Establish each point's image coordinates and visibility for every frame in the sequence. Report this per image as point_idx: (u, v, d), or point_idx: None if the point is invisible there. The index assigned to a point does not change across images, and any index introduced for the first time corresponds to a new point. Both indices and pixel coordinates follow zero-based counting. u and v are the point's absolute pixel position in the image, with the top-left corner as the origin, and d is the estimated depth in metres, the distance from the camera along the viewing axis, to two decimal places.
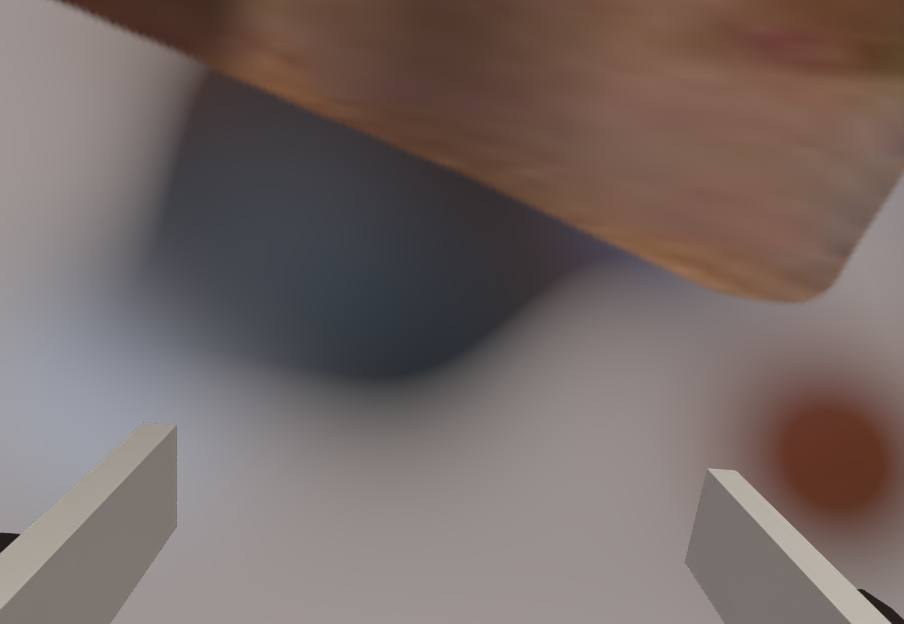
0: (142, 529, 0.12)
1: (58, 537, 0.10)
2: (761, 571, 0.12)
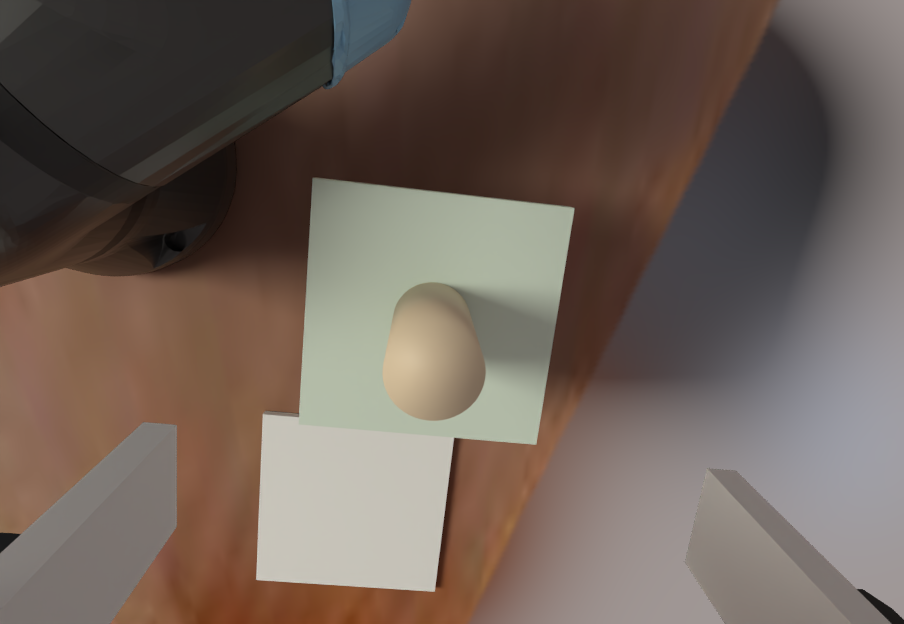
0: (142, 529, 0.12)
1: (58, 537, 0.10)
2: (761, 571, 0.12)
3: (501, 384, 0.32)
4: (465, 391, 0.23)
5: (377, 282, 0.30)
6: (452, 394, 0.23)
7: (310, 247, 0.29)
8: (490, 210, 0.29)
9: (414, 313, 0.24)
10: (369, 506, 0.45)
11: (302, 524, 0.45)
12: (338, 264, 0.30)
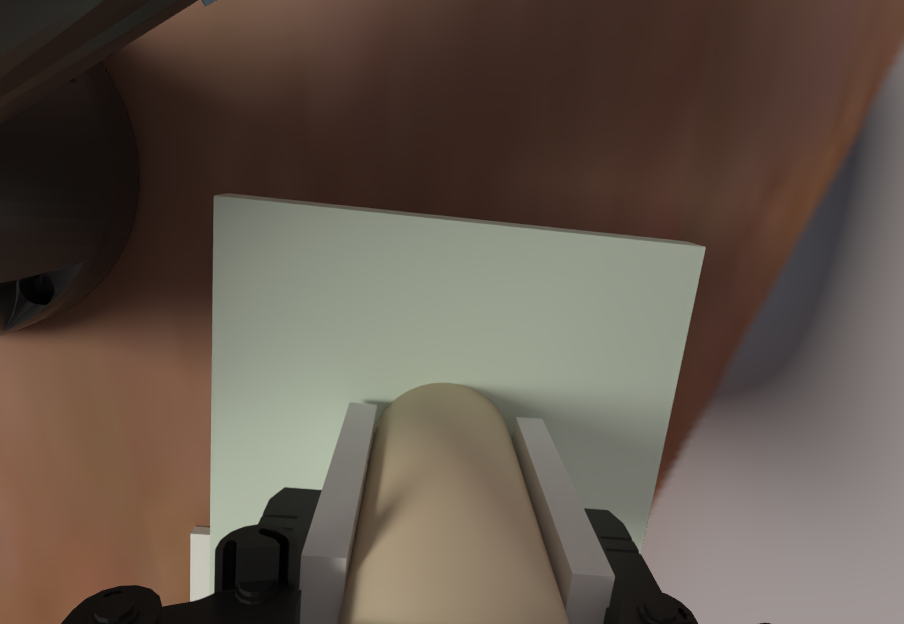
0: None
1: (352, 487, 0.12)
2: None
3: None
4: None
5: (341, 383, 0.16)
6: None
7: (215, 324, 0.16)
8: (550, 252, 0.16)
9: (407, 505, 0.11)
10: None
11: None
12: (269, 353, 0.16)
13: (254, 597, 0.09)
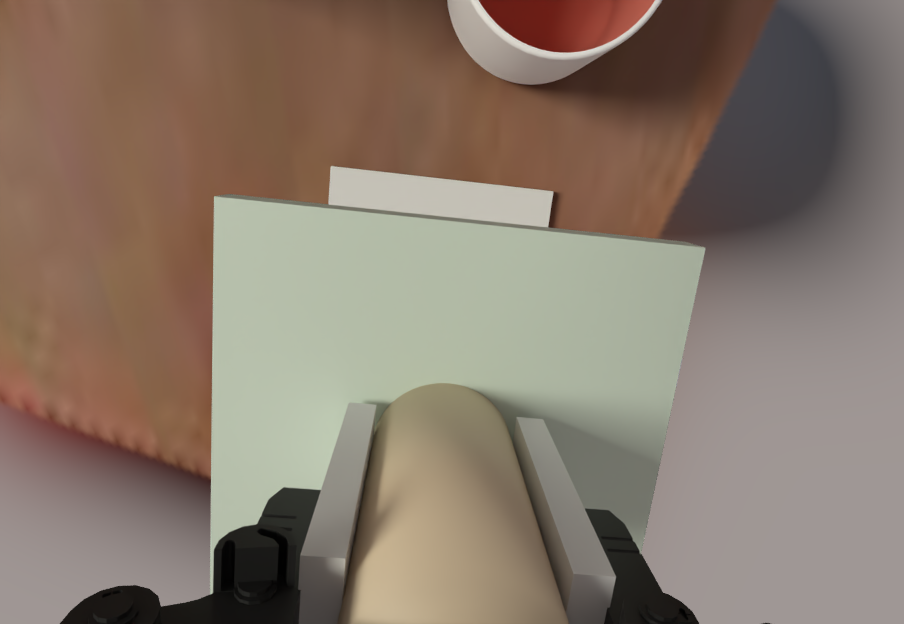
0: None
1: (351, 487, 0.12)
2: None
3: None
4: None
5: (341, 384, 0.16)
6: None
7: (216, 324, 0.16)
8: (550, 253, 0.16)
9: (407, 506, 0.11)
10: None
11: None
12: (269, 354, 0.16)
13: (253, 597, 0.09)
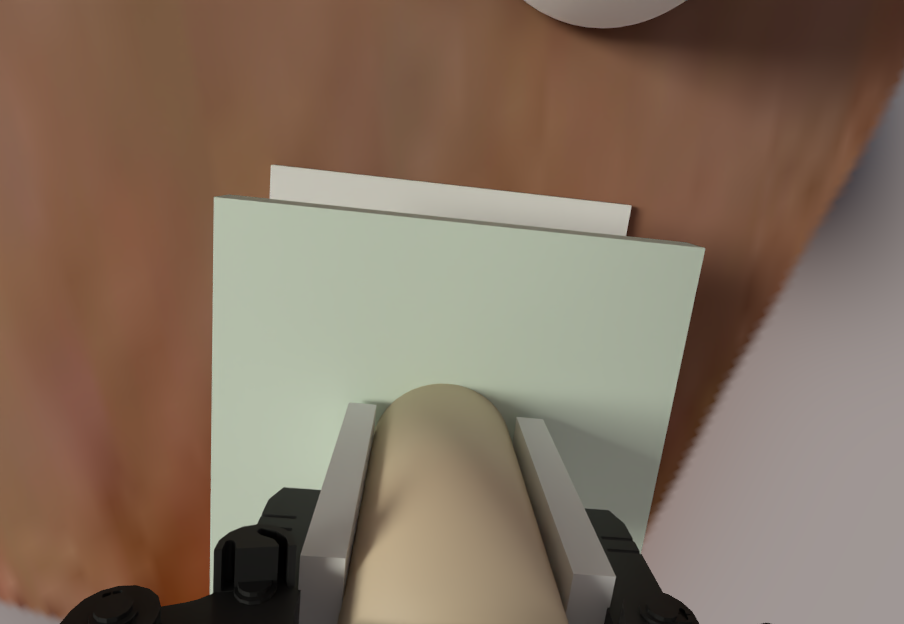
0: None
1: (351, 487, 0.12)
2: (529, 497, 0.14)
3: None
4: None
5: (341, 384, 0.16)
6: None
7: (215, 325, 0.16)
8: (549, 254, 0.16)
9: (407, 506, 0.11)
10: None
11: None
12: (269, 354, 0.16)
13: (253, 597, 0.09)
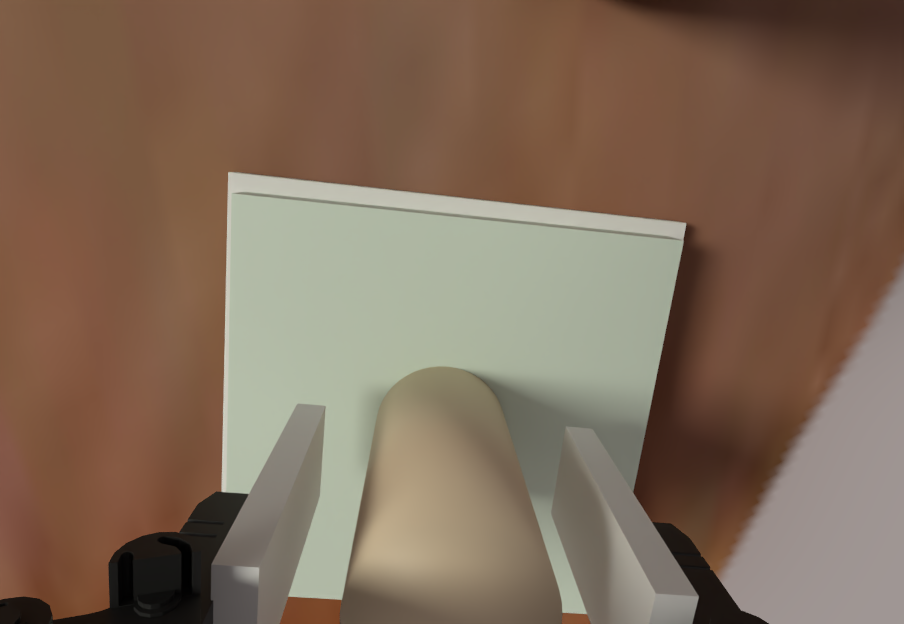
0: (310, 494, 0.14)
1: (281, 492, 0.12)
2: (588, 510, 0.14)
3: (554, 525, 0.19)
4: None
5: (348, 367, 0.18)
6: None
7: (232, 311, 0.17)
8: (540, 246, 0.17)
9: (409, 467, 0.12)
10: None
11: None
12: (281, 339, 0.17)
13: (154, 609, 0.08)
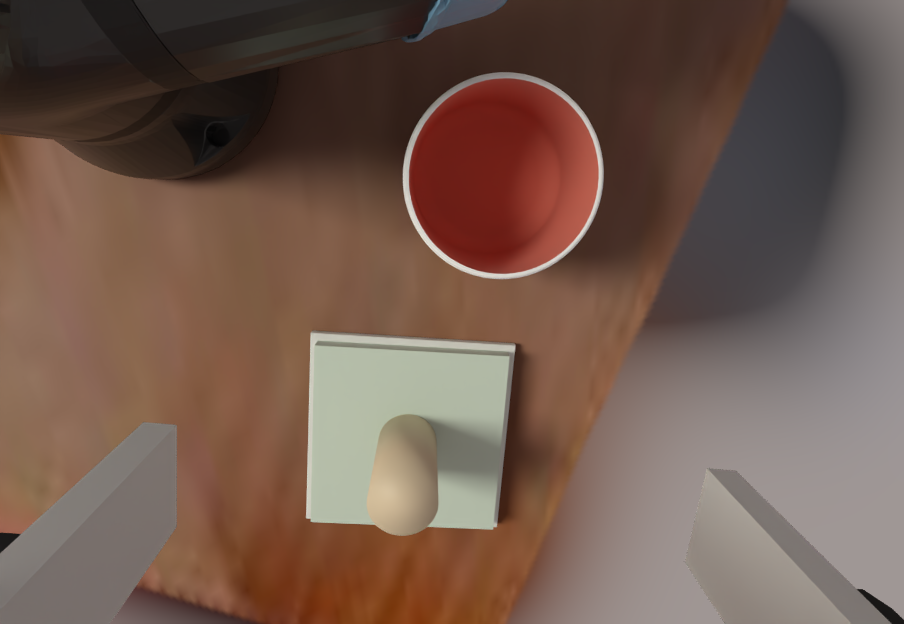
0: (142, 529, 0.12)
1: (58, 537, 0.10)
2: (761, 571, 0.12)
3: (463, 485, 0.41)
4: (425, 514, 0.33)
5: (365, 416, 0.40)
6: (416, 517, 0.33)
7: (314, 394, 0.40)
8: (446, 361, 0.39)
9: (389, 456, 0.34)
10: None
11: None
12: (335, 404, 0.40)
13: None
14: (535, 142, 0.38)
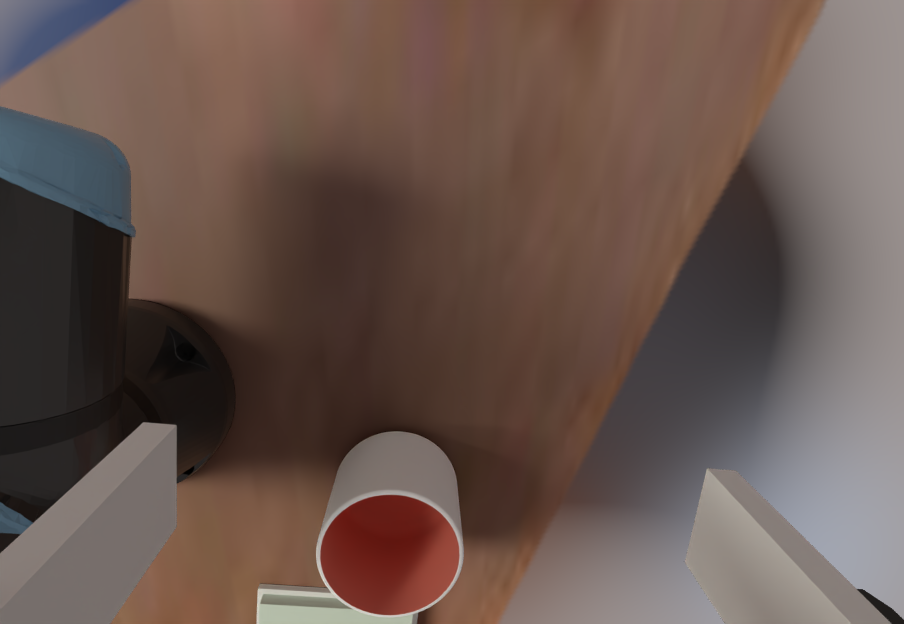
0: (142, 529, 0.12)
1: (58, 537, 0.10)
2: (761, 571, 0.12)
3: None
4: None
5: None
6: None
7: None
8: (363, 615, 0.50)
9: None
10: None
11: None
12: None
13: None
14: None
